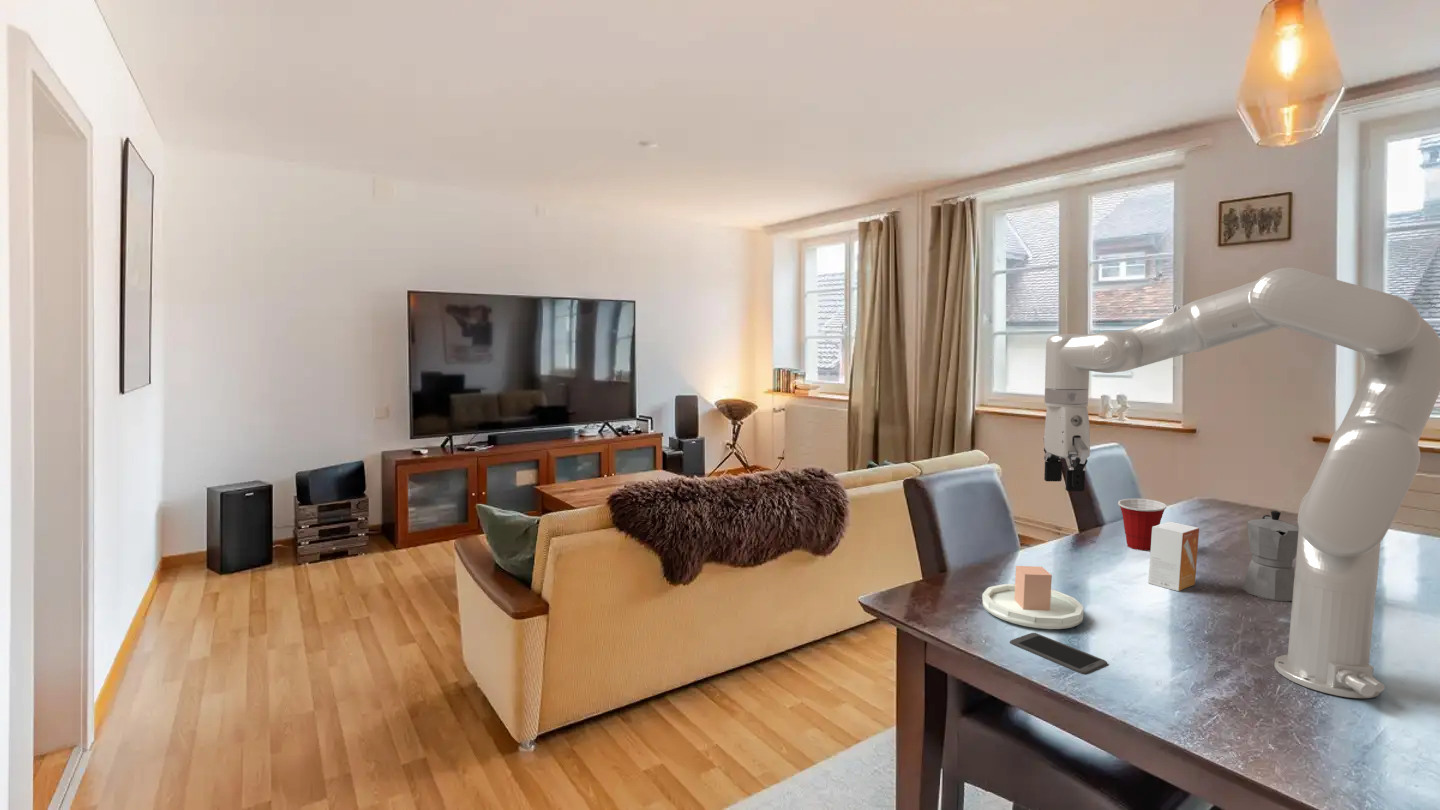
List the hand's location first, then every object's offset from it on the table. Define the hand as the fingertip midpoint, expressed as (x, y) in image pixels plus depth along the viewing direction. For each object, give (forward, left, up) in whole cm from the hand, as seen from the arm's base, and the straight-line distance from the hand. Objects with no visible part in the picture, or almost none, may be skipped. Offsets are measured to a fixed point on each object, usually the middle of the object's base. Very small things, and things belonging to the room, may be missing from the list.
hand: (1063, 485), depth 132 cm
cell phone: (-19, +7, -26) cm, 33 cm away
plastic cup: (+47, -39, -26) cm, 66 cm away
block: (-1, +5, -24) cm, 24 cm away
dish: (-1, +5, -25) cm, 26 cm away
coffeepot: (+16, -50, -26) cm, 58 cm away
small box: (+19, -32, -26) cm, 45 cm away
